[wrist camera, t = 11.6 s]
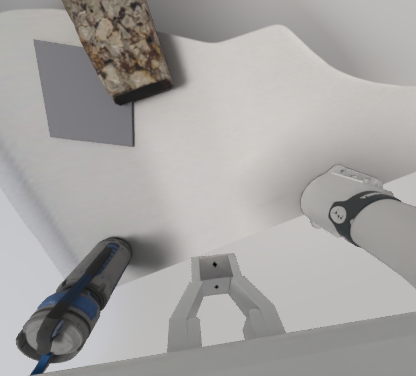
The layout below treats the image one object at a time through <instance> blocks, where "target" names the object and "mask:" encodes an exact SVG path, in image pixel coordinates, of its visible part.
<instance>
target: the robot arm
mask: <svg viewBox="0 0 416 376" xmlns="http://www.w3.org/2000/svg"><path fill="white" fill-rule="evenodd" d="M341 170H342V171H341ZM301 208H302V211H303V213H304V214H305V215H306V216H307V217H308V218H309V219H310V222H311V224H312V226H313V227H315V228H323V229H324V230H326V231H327V232H329V233H330V234H332V235H333V236H335V237H343V238H344V239H345V240H347V241H348V242H350V243H352V244H354V245H355V246H357V247H361V248H363V249H364V250H366V251H367V252H368V253H370V254H372V255H373V256H374V257H376V258H377V259H378V260H380V261H381V262H383V263H384V264H386V265H387V266H388V267H390V268H391V269H393V270H394V271H395V272H397V273H398V274H399V275H401V276H402V277H403V278H404V279H405V280H407V281H408V282H409V283H410V284H411V285H412V286H413V287H414V288H416V207H414V206H411V205H408V204H406V203H403V202H401V201H400V200H399V199H397V198H395V197H394V196H393V193H392V192H390V191H387V190H384V189H383V182H382V181H381V180H379V179H376V178H374V177H371V176H368V175H365V174H363V173H360V172H357V171H354V170H351V169H349V168H346V167H343V166H340V165H335V166H333V167H332V168H331V169H330V170H329V171H328V172H327V173H325V174H323V175H321V176H319V177H317V178H316V179H314V180H313V181H312V182H311V183H310V184H309V185H308V186H307V187H306V189H305V190H304V192H303V195H302V198H301ZM191 273H192V282H190V283H189V285H188V286H187V288H186V290H185V292H184V294H183V296H182V297H181V299H180V301H179V303H178V305H177V307H176V309H175V311H174V312H173V314H172V316H171V318H170V320H169V334H168V349H167V353H163V354H157V355H151V356H145V357H139V358H133V359H127V360H121V361H116V362H109V363H103V364H97V365H91V366H85V367H79V368H73V369H67V370H61V371H56V372H49V373H43V374H37V375H31V376H416V312H411V313H405V314H399V315H393V316H387V317H381V318H375V319H369V320H362V321H356V322H350V323H344V324H338V325H332V326H326V327H320V328H314V329H308V330H302V331H296V332H290V333H286V332H285V330H284V327H283V325H282V322H281V320H280V318H279V315H278V313H277V311H276V308H275V306H274V305H273V304H272V303H271V302H270V301H269V300H268V299H267V298H266V297H265V296H264V295H263V294H262V293H261V292H260V291H259V290H258V289H257V288H256V287H255V286H254V285H253V284H252V283H251V282H250V281H249V280H248V279H247V278H245V276H242V275H241V272H240V269H239V265H238V262H237V259H236V256H235V254H234V253H231V254H220V255H213V256H201V257H191ZM226 293H229V295H230V297H231V298H232V299H233V300H234V302H235V303H236V304H237V306H238V307H239V308H240V310H241V311H242V312H243V314H244V315H245V316H246V321H245V325H244V327H243V334H244V338H245V340H242V341H237V342H230V343H224V344H218V345H212V346H205V347H202V344H201V330H200V319H199V318H198V317H196V315H197V312H198V309H199V307H200V304H201V302H202V299H203V296H210V295H216V294H226Z"/></svg>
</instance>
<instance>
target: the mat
mask: <svg viewBox="0 0 416 376" xmlns="http://www.w3.org/2000/svg"><path fill="white" fill-rule="evenodd" d="M33 40H34V39H33ZM34 46H35V51H36V57H37V63H38V69H39V74H40V80H41V86H42V91H43V97H44V103H45V109H46V114H47V120H48V126H49V131H50V137H54V138H63V139H71V140H80V141H89V142H97V143H106V144H114V145H123V146H131V147H133V105H132V102H129V103H126V104H124V105H122V106H119V105H117V104H114V101H113V100H112V98H111V96H110V95H109V93H108V92H107V91H106V89H105V87H104V85H103V84H102V82H101V80H100V79H99V77H98V75H97V73H96V71H95V69H94V67H93V65H92V63H91V61H90V59H89V57H88V55H87V53H86V51H85V49H84V48H82V47H76V46H70V45H64V44H58V43H52V42H46V41H40V40H34Z"/></svg>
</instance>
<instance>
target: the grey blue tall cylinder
mask: <svg viewBox="0 0 416 376" xmlns="http://www.w3.org/2000/svg"><path fill="white" fill-rule="evenodd" d="M131 257H132V254H131V249H130V247H129V246H128V244H126V243H125V242H124V241H122V240H120V239H119V240H118V239H115V238H111V239H106V240H103V241H101V242H99V243H98V244H97V245H96V246H95V248H94V249H93V250H92V251H91V252H90V253H89V254H88V255H87V256H86V257H85V258H84V259H83V261H82V262H81V263H80V264H79V265H78V266H77V267H76V268H75V269H74V270H73V271H72V272H71V274H70V275H69V276H68V277H67V278H66V279H65V280H64V281H63V282H62V283H61V285H60V286H59V287H58V288H57V290H56V293H55V294H53V295H51V296H49V297H47V298H46V299H45V300H44V301H43V302H42V304H40V306H39V307H38V310H37V311H36V312H35V313H34V314H33V315H32V316H31V318H30V319H29V320H28V321H27V322H26V323H25V325H24V326H23V329H22V331H21V332H20V333H19V334H18V336H17V338H16V345H17V347H18V349H19V350H20V351H21V352H22V353H23V354H24V355H26V356H27V357H29V358H31V359H34V360H37V361H39V362H38V364H37V366H36V367H35V369H34V370H33V372H32V373H31V375H37V374H43V372H44V371H45V370H46V368H47V367H48V366H49V364H50V363H61V362H65V361H68V360H71V359H72V358H74V356H76V355H77V354H78V352H79V351H80V350H81V349H82V347H83V345H84V343H85V342H86V340H87V338H88V337H89V335H90V333H91V331H92V330H93V328H94V326H95V324H96V322H97V321H98V319H99V317H100V311H101V310H102V309H104V307H105V306H106V304H107V302H108V300H109V299H110V296H111V294H112V292H113V290H114V289H115V287H116V285H117V283H118V281H119V280H120V278H121V276H122V274H123V272H124V270H125V269H126V267H127V265H128V264H129V262H130V260H131ZM31 375H30V376H31Z"/></svg>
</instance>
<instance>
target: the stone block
mask: <svg viewBox="0 0 416 376" xmlns="http://www.w3.org/2000/svg"><path fill="white" fill-rule="evenodd" d="M62 2H63V4H64V6H65V9H66V11H67V13H68V14H69V16H70V18H71V20H72V21H73V23H74V25H75V29H76V31H77V33H78V36H79V38H80V41H81V43H82V45H83V47H84V49H85V51H86V53H87V55H88V57H89V59H90V61H91V63H92V65H93V67H94V69H95V71H96V73H97V75H98V77H99V79H100V80H101V82H102V84H103V85H104V87H105V89H106V91H107V92H108V93H109V95H110V96H111V98H112V100H113V101H114V104H117V105H119V106H122V105H124V104H126V103H129V102H132V101H135V100H138V99H142V98H145V97H148V96H151V95H154V94H157V93H160V92H162V91H166V90H168V89H171V88H172V87H173V83H172V79H171V76H170V73H169V70H168V66H167V63H166V60H165V57H164V54H163V51H162V48H161V45H160V42H159V38H158V35H157V32H156V30H155V26H154V23H153V20H152V17H151V14H150V11H149V7H148V4H147V1H146V0H62Z"/></svg>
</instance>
